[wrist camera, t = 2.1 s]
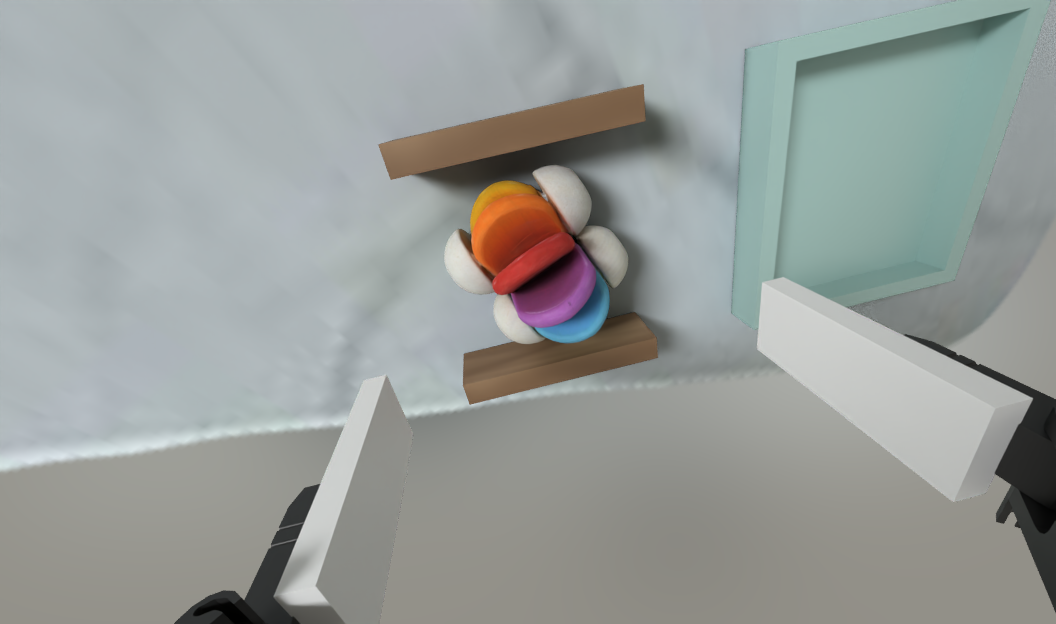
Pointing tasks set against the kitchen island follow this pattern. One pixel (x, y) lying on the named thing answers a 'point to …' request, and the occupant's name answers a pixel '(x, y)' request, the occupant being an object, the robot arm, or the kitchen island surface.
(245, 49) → the kitchen island surface
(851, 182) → the tray
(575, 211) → the rainbow disc toy
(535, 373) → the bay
